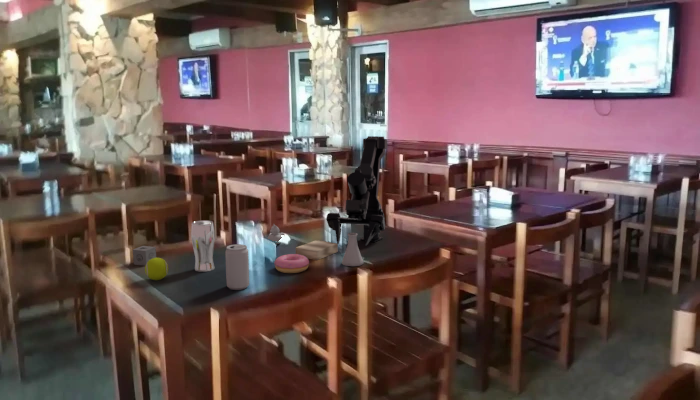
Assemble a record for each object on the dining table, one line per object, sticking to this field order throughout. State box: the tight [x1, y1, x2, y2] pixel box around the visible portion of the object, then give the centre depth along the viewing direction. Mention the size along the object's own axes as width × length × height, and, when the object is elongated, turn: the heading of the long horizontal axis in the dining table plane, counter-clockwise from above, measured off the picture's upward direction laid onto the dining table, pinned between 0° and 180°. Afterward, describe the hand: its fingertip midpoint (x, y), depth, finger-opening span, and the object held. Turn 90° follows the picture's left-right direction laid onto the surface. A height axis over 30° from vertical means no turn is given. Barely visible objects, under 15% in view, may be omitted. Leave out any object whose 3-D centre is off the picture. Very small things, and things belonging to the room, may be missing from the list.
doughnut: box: [273, 253, 310, 274], centre depth 186 cm, size 11×11×4 cm
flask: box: [341, 232, 364, 267], centre depth 191 cm, size 7×7×10 cm
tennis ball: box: [144, 257, 169, 281], centre depth 176 cm, size 7×7×7 cm
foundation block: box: [295, 239, 339, 261], centre depth 203 cm, size 12×9×3 cm
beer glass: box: [190, 219, 215, 273], centre depth 185 cm, size 7×7×15 cm
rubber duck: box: [267, 223, 285, 245], centre depth 216 cm, size 5×7×8 cm
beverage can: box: [224, 243, 250, 291], centre depth 168 cm, size 6×6×12 cm
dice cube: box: [132, 245, 157, 267], centre depth 193 cm, size 5×5×5 cm
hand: (351, 243), depth 189 cm, fingers open, 9 cm apart
